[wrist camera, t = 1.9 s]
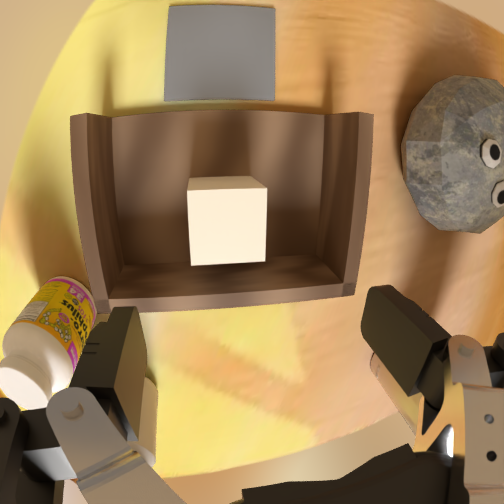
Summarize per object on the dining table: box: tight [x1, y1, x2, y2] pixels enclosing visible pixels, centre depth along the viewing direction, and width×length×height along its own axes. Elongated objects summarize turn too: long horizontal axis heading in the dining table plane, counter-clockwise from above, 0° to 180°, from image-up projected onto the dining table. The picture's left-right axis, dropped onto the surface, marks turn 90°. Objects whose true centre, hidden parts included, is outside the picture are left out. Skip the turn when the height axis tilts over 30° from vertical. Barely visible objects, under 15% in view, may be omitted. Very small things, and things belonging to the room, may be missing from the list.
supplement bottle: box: [0, 276, 97, 410], centre depth 20 cm, size 7×7×13 cm
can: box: [127, 377, 158, 467], centre depth 26 cm, size 8×8×12 cm
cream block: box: [187, 176, 267, 266], centre depth 22 cm, size 5×5×6 cm
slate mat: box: [164, 5, 275, 101], centre depth 20 cm, size 9×9×1 cm
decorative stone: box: [401, 75, 504, 234], centre depth 23 cm, size 18×21×10 cm
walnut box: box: [70, 110, 374, 314], centre depth 22 cm, size 20×14×7 cm
